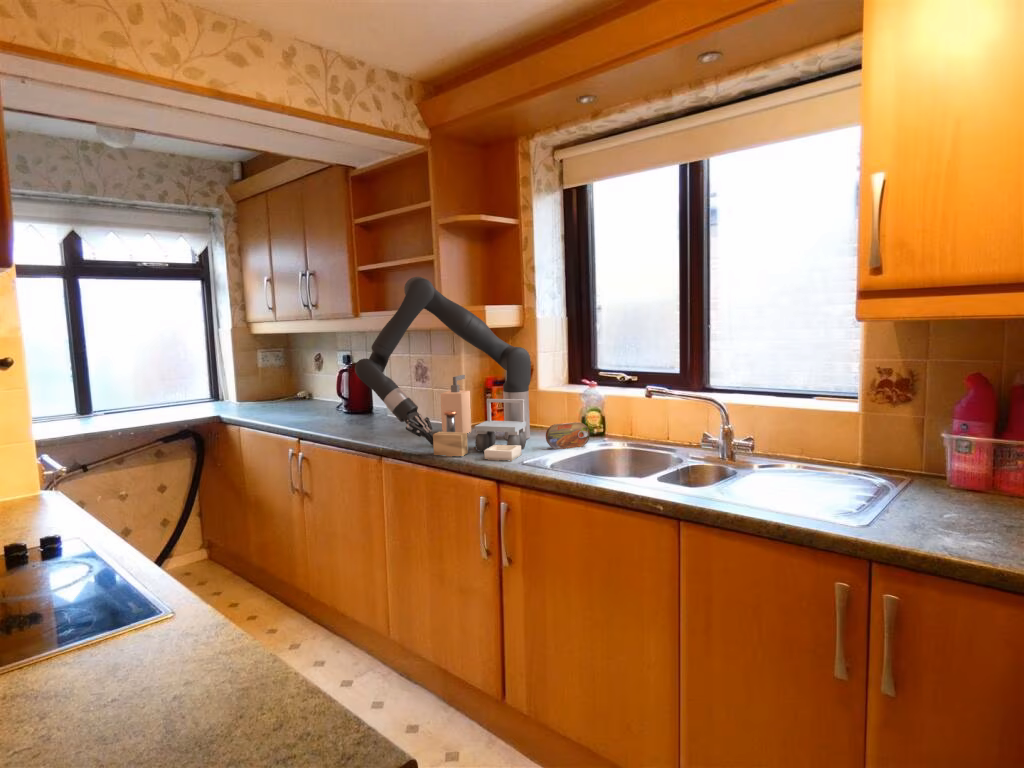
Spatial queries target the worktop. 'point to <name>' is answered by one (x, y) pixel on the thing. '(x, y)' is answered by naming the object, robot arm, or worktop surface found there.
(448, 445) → the block
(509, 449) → the tray
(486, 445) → the trolley
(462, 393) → the soap dispenser
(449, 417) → the pin
